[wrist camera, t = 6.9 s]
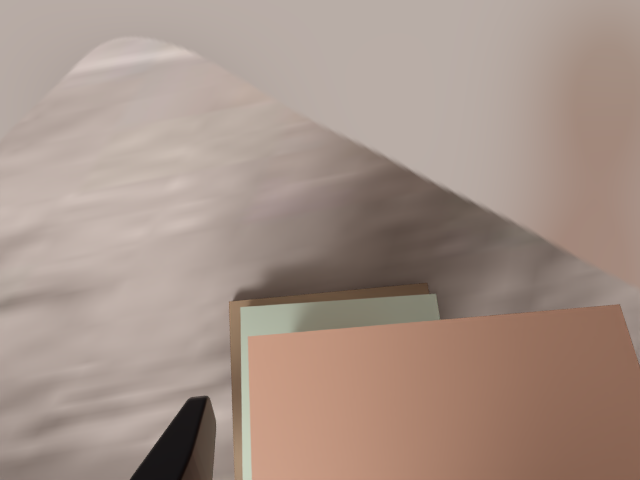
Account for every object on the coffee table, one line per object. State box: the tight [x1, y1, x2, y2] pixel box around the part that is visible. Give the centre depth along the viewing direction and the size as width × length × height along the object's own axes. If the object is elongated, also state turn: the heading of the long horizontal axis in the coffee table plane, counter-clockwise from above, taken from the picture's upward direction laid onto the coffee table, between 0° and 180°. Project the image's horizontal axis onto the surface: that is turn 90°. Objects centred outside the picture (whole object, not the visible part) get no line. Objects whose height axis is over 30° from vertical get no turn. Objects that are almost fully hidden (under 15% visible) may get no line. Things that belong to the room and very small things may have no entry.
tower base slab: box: [229, 283, 429, 480], centre depth 18 cm, size 10×10×2 cm
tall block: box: [248, 304, 640, 480], centre depth 10 cm, size 5×5×12 cm
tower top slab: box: [240, 294, 440, 480], centre depth 16 cm, size 9×9×2 cm
